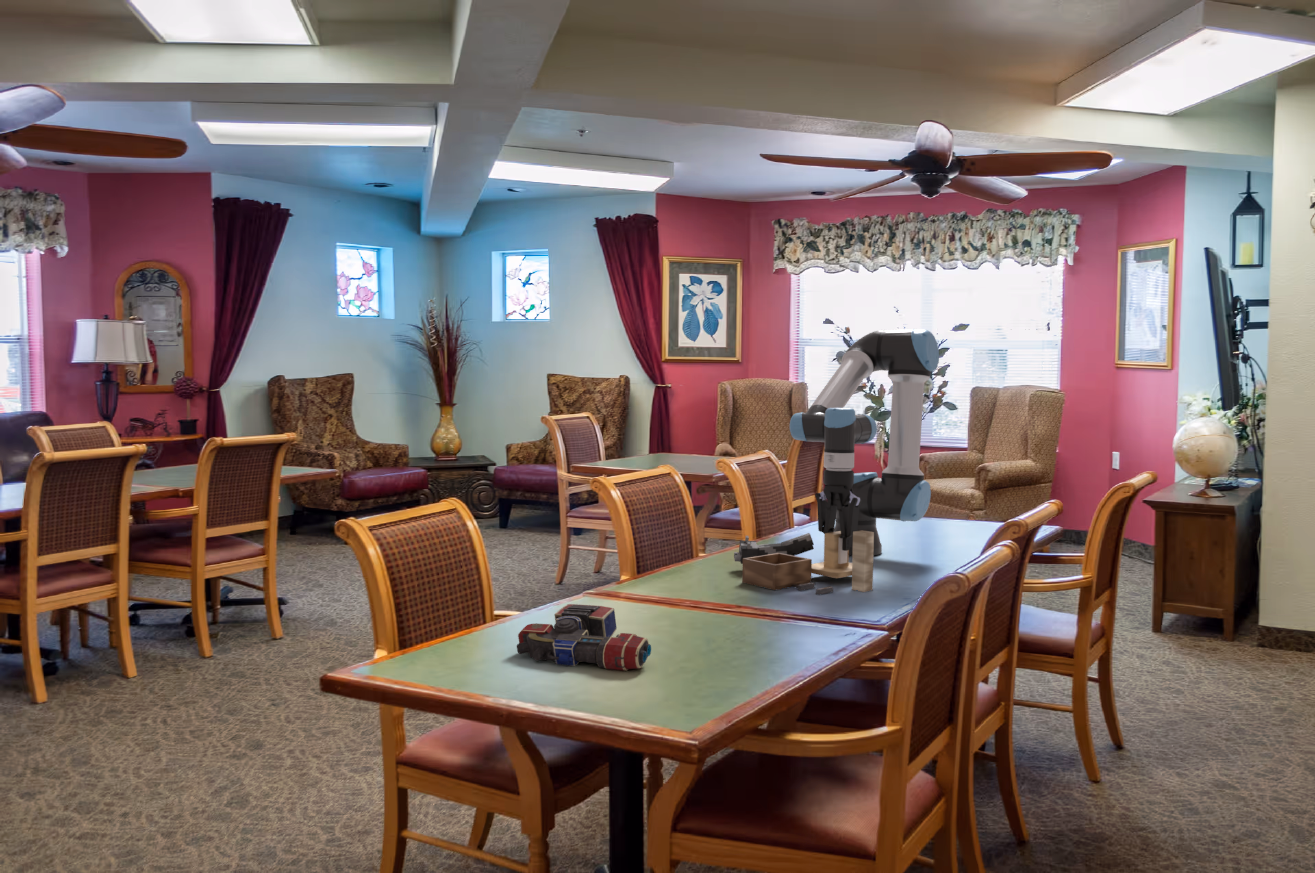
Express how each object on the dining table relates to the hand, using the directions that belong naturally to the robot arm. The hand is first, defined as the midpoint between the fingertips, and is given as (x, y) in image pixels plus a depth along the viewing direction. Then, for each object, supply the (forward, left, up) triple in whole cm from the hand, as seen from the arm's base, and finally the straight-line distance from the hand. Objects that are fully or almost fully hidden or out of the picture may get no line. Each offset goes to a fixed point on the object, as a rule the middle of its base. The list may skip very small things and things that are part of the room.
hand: (836, 561), depth 250 cm
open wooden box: (+15, -6, -4) cm, 17 cm away
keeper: (+15, +4, -4) cm, 16 cm away
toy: (+5, -17, -5) cm, 18 cm away
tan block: (+5, +12, -4) cm, 14 cm away
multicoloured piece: (+88, +16, -5) cm, 89 cm away
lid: (0, 0, -2) cm, 2 cm away
